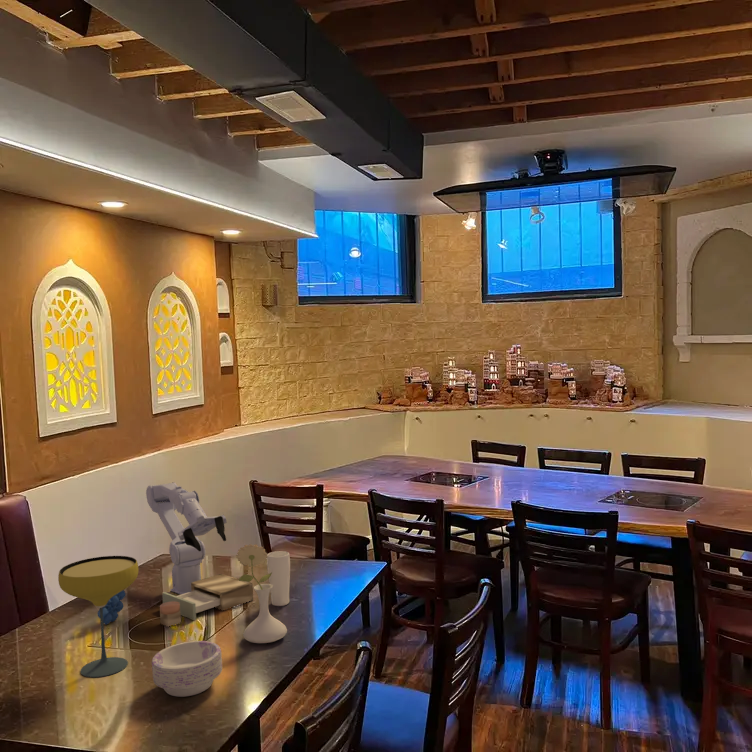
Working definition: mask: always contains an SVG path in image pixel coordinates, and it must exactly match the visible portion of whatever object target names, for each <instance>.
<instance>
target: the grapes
mask: <svg viewBox="0 0 752 752" xmlns="http://www.w3.org/2000/svg"><path fill="white" fill-rule="evenodd" d="M126 594H127V593H126V591H125V589H124V590H123V591H121V592H119V593H118V594H116V595H114V596H113V597H111V598H110V599H109V601H108V602H107V604H106V605H105V606H104V607H102V608H103V625H108V624H110V622H111V623H114V622H115V621H116V620H117V619H118V618H119V613H120V612H122V610H123V609H124V607H125V606H124V603H123V601H122V600H124V598H125V597H126ZM97 616H98V619H100V608H98V610H97Z"/></svg>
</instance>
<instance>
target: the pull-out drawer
mask: <svg viewBox="0 0 752 752" xmlns="http://www.w3.org/2000/svg"><path fill="white" fill-rule="evenodd" d="M161 593H162V604H163V603H166V602H172V601H175V602H179V603H180V614H181V617H182V616H183V617H184V618H187V619H190V620H192V621H195V620H197V614H198V613H201V612H203V611H206V610H210V609H213V608H214V607H216V606H219V605H220V598H217V597H215V596H212V595H209V594H206V593H203V592H200V591H197V590H194V591H191V592H188V593H185V594H181V595H180V594H178V595H174V594H171V593H169V592H166V591H163V592H161Z"/></svg>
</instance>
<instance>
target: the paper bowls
mask: <svg viewBox="0 0 752 752" xmlns="http://www.w3.org/2000/svg"><path fill="white" fill-rule="evenodd" d="M222 655H223V654H222V650H221V647H220V645H219V644H218V643H215V642H212V641H206V640H194V641H193V640H192V641H185V642H181V643H175V644H173V645H170V646H168V647H165V648H163V649H161V650H160V651H158V652H156V653H155V655H154V656H153V657H152V660H151V666H152V667H151V669H152V671H151V672H152V679H153V683H154V685H156V686H157V687H159V688H161V689H163V691H165V693H167V694H168V695H170V696H173V697H180V698H183V697H185V698H186V697H190V696H197V695H199V694H201V693H202V692H205V691H206V690H208V689H209V688H210V687H211V686H212V684H213V682H214V680H215V679H216V678H218V676H219V675H221V673H222V671H223V659H222Z"/></svg>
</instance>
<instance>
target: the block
mask: <svg viewBox="0 0 752 752" xmlns="http://www.w3.org/2000/svg"><path fill="white" fill-rule="evenodd" d="M159 615H160V616H159V617H160V624H161V625H162V624H163V625H162V626H165V625H166V626H165V627H167V626H168V627H167V628H170V627H172V626H171V625H173V626H175V624H176V625H178V623H179V624H181V623H182V619H181V618H182V615H181V614H180V611H179V612H177V613H174V614H169V615H164V614H161V613H160V612H159ZM180 622H181V623H180ZM169 626H170V627H169Z"/></svg>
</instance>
